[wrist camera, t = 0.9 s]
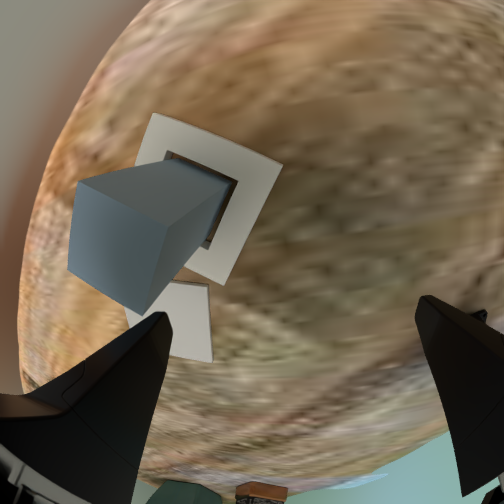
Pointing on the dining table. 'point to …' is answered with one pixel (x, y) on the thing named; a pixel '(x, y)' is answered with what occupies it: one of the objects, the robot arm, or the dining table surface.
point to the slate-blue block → (141, 227)
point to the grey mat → (184, 319)
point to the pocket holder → (226, 162)
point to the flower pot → (183, 494)
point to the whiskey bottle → (260, 494)
